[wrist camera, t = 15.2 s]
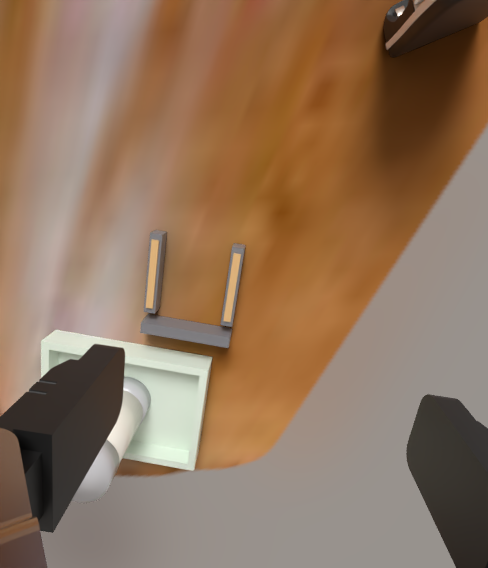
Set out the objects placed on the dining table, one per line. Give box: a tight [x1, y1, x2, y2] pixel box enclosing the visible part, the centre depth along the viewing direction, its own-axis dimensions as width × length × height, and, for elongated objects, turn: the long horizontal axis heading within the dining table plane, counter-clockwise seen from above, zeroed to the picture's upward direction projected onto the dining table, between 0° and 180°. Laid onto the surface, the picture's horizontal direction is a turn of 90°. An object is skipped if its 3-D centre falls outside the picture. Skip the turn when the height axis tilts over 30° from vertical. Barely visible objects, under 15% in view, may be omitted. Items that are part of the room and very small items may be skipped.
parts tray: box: [41, 330, 212, 471], centre depth 37 cm, size 15×11×2 cm
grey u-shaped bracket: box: [140, 230, 246, 348], centre depth 34 cm, size 8×9×2 cm
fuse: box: [71, 376, 151, 503], centre depth 33 cm, size 5×5×10 cm
